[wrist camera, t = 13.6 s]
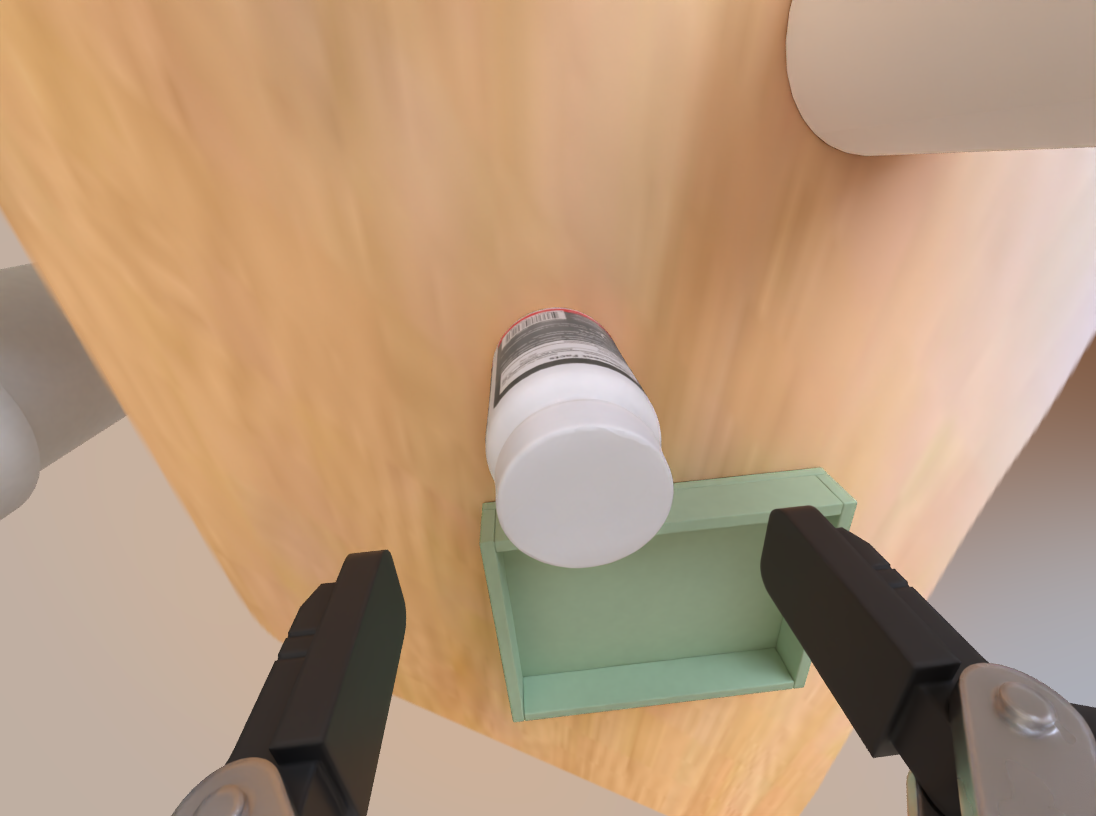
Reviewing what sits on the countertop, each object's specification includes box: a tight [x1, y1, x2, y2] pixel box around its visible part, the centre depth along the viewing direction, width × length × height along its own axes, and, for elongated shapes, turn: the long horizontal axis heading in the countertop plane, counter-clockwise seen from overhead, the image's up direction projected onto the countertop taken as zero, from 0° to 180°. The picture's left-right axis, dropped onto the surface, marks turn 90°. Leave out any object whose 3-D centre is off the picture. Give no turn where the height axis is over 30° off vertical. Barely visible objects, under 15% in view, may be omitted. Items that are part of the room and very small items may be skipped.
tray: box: [479, 467, 857, 722], centre depth 22 cm, size 15×12×2 cm
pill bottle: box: [485, 308, 674, 568], centre depth 14 cm, size 5×5×8 cm
